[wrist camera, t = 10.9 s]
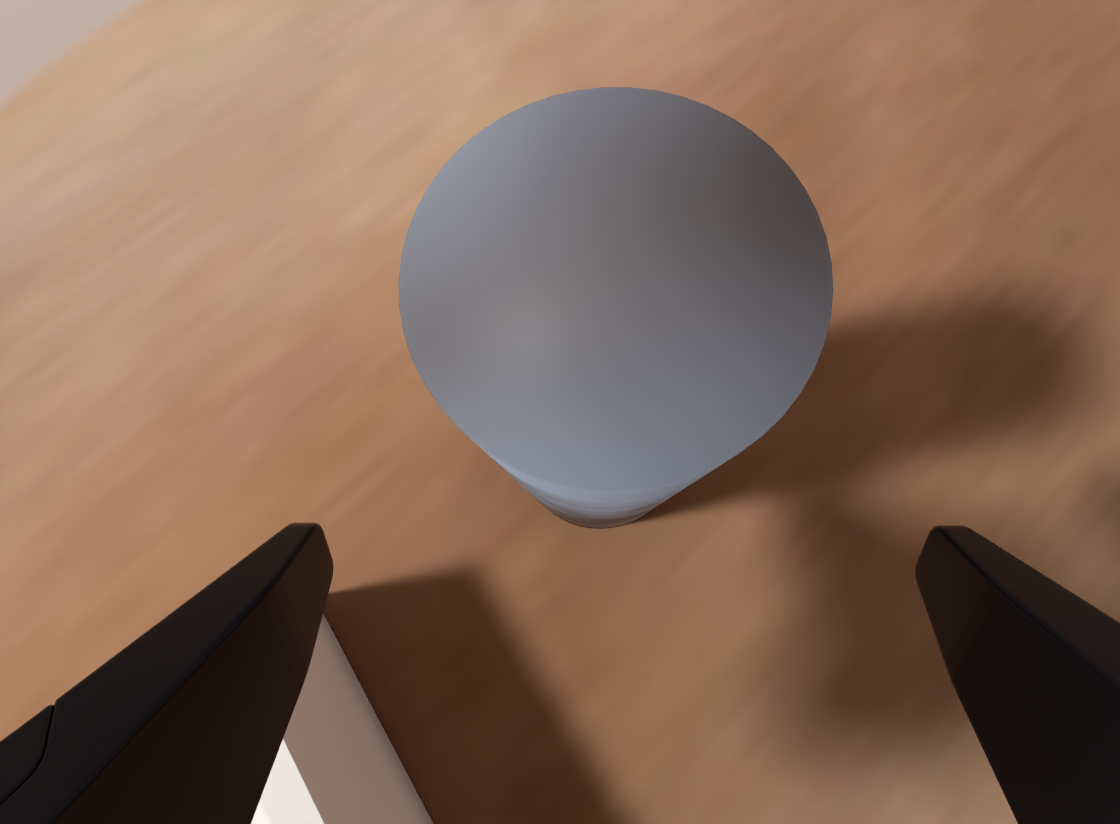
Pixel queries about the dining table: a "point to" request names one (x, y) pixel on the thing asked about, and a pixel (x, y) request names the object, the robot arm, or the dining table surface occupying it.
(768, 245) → the slate peg
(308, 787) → the tote
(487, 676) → the dining table surface
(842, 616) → the dining table surface
